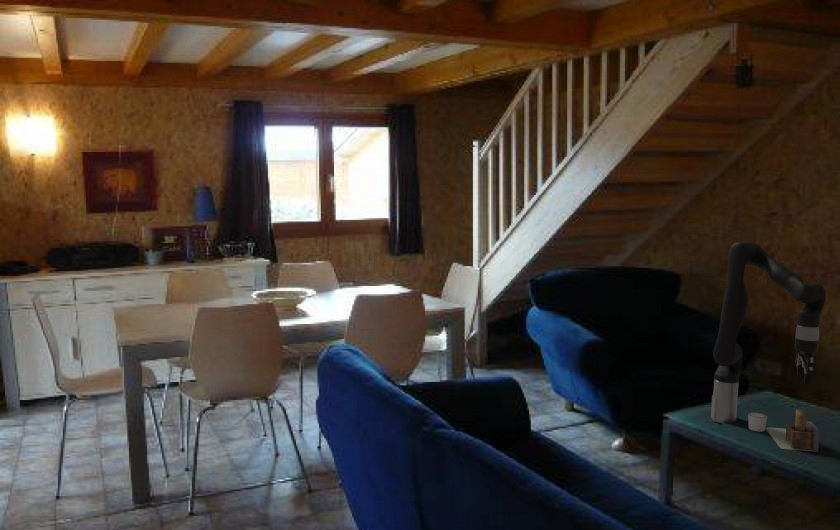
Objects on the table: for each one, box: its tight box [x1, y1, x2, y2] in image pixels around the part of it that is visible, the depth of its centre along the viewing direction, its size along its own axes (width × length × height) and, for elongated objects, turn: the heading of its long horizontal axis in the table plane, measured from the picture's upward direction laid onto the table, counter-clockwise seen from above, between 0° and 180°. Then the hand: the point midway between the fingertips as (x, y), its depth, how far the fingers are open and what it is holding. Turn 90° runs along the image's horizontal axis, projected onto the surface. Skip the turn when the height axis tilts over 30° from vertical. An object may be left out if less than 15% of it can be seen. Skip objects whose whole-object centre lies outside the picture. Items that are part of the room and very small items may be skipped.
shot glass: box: [747, 411, 768, 432], centre depth 274 cm, size 7×7×7 cm
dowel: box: [794, 408, 807, 432], centre depth 256 cm, size 3×3×12 cm
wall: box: [805, 420, 821, 453], centre depth 256 cm, size 2×10×8 cm, turn 167°
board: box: [765, 426, 817, 453], centre depth 264 cm, size 12×23×1 cm, turn 167°
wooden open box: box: [785, 424, 814, 449], centre depth 257 cm, size 7×8×6 cm
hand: (803, 380), depth 254 cm, fingers open, 8 cm apart
